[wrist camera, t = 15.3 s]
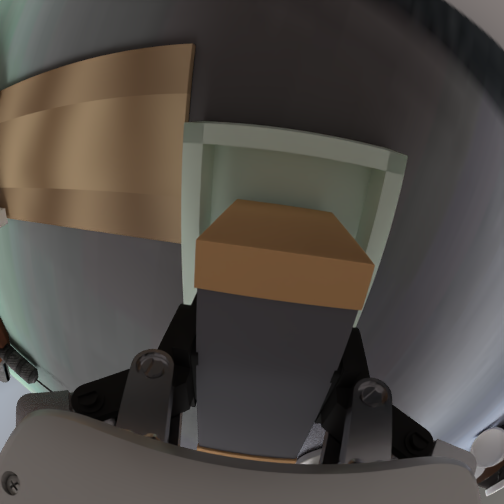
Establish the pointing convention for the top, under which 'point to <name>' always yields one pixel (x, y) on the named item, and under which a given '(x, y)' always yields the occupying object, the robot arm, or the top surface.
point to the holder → (99, 143)
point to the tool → (14, 361)
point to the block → (271, 324)
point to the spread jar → (489, 459)
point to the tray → (286, 182)
